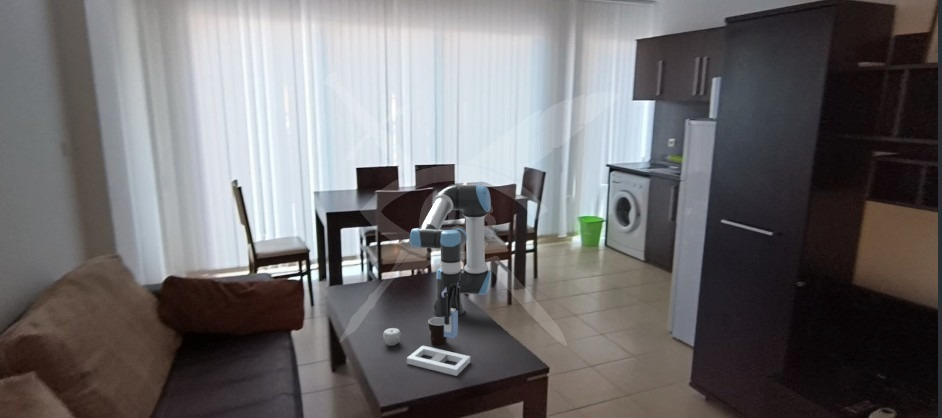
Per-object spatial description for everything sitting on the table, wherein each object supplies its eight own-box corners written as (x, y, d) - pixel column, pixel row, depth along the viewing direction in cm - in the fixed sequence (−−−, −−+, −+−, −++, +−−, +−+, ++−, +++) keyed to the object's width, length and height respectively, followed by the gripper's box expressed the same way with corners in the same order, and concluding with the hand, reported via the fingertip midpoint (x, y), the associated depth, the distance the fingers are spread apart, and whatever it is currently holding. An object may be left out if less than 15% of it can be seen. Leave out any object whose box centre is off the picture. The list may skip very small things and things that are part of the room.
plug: (448, 332, 204) (448, 306, 202) (457, 334, 202) (457, 308, 200) (443, 336, 200) (443, 310, 198) (453, 338, 198) (453, 311, 196)
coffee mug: (445, 348, 218) (445, 326, 216) (426, 346, 220) (425, 324, 218) (452, 336, 229) (452, 315, 228) (433, 334, 231) (433, 313, 229)
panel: (422, 351, 216) (422, 345, 215) (470, 362, 207) (470, 356, 206) (407, 363, 205) (406, 357, 205) (456, 375, 196) (456, 369, 195)
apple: (394, 338, 228) (394, 324, 226) (405, 344, 222) (405, 329, 221) (379, 344, 222) (378, 329, 221) (390, 350, 217) (389, 335, 215)
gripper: (452, 264, 205) (452, 319, 210) (430, 276, 190) (431, 335, 194) (469, 266, 202) (469, 323, 206) (448, 279, 187) (449, 339, 191)
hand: (450, 329), depth 200 cm, fingers closed on plug, 4 cm apart
